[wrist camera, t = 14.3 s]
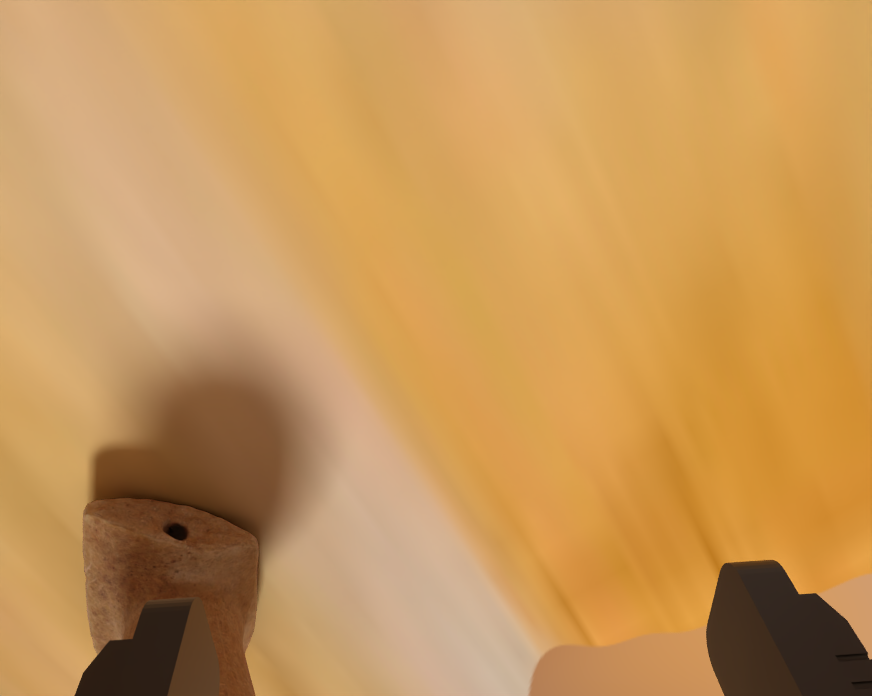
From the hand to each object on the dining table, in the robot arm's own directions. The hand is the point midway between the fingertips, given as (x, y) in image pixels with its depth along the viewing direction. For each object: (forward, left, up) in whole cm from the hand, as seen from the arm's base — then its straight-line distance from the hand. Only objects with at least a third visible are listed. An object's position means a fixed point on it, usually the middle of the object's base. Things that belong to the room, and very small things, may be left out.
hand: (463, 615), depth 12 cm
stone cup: (+14, +27, -26) cm, 40 cm away
